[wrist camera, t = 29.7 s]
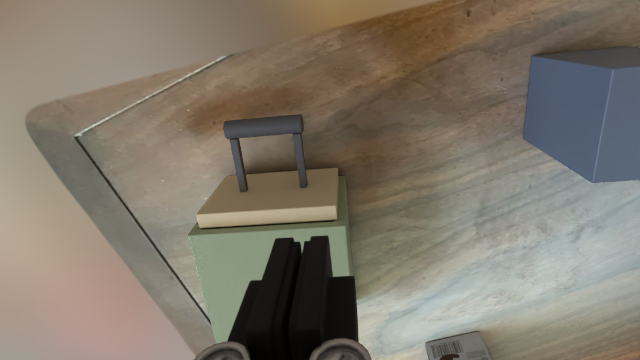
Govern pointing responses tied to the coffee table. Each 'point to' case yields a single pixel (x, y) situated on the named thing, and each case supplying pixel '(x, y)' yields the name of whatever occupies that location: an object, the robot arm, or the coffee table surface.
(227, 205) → the drawer
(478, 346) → the coffee box
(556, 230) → the coffee table surface
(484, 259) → the coffee table surface
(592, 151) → the stand
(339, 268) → the cabinet
